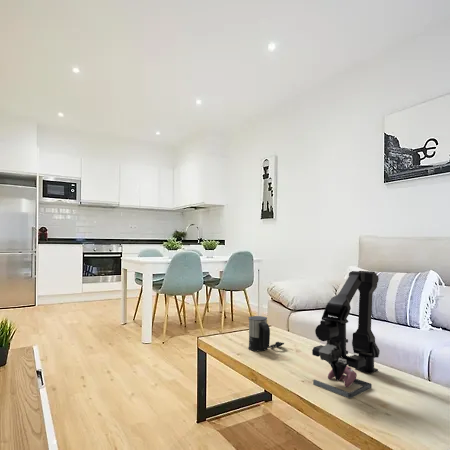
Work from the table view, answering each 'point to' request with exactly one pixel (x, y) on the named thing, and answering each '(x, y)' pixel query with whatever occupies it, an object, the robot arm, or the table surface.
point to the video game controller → (348, 378)
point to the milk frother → (260, 334)
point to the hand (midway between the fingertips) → (337, 380)
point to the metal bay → (351, 394)
